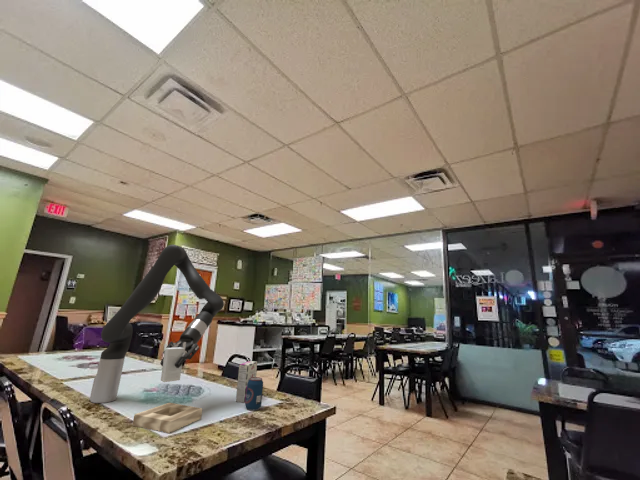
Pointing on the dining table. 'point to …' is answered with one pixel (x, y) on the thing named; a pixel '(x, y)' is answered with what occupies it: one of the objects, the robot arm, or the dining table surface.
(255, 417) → the dining table surface
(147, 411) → the socket block
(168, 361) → the skincare box
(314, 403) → the dining table surface
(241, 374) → the candy bar box
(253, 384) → the soda can
